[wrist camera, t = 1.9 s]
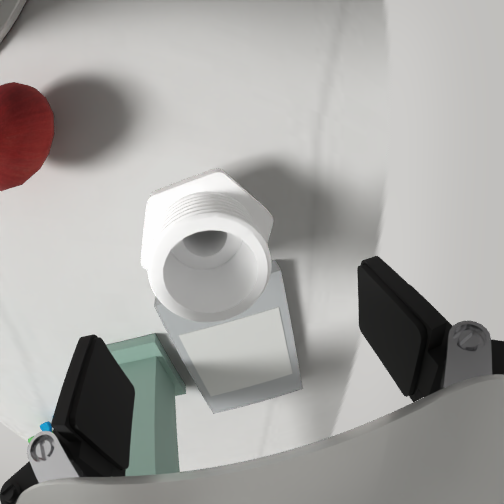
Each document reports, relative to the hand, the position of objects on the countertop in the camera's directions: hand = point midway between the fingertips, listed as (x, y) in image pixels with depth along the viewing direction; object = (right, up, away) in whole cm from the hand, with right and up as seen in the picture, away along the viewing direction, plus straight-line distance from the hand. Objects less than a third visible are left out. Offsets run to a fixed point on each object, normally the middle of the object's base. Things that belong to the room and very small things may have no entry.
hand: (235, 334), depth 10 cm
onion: (-13, +11, +5) cm, 18 cm away
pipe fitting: (-3, +5, +10) cm, 11 cm away
